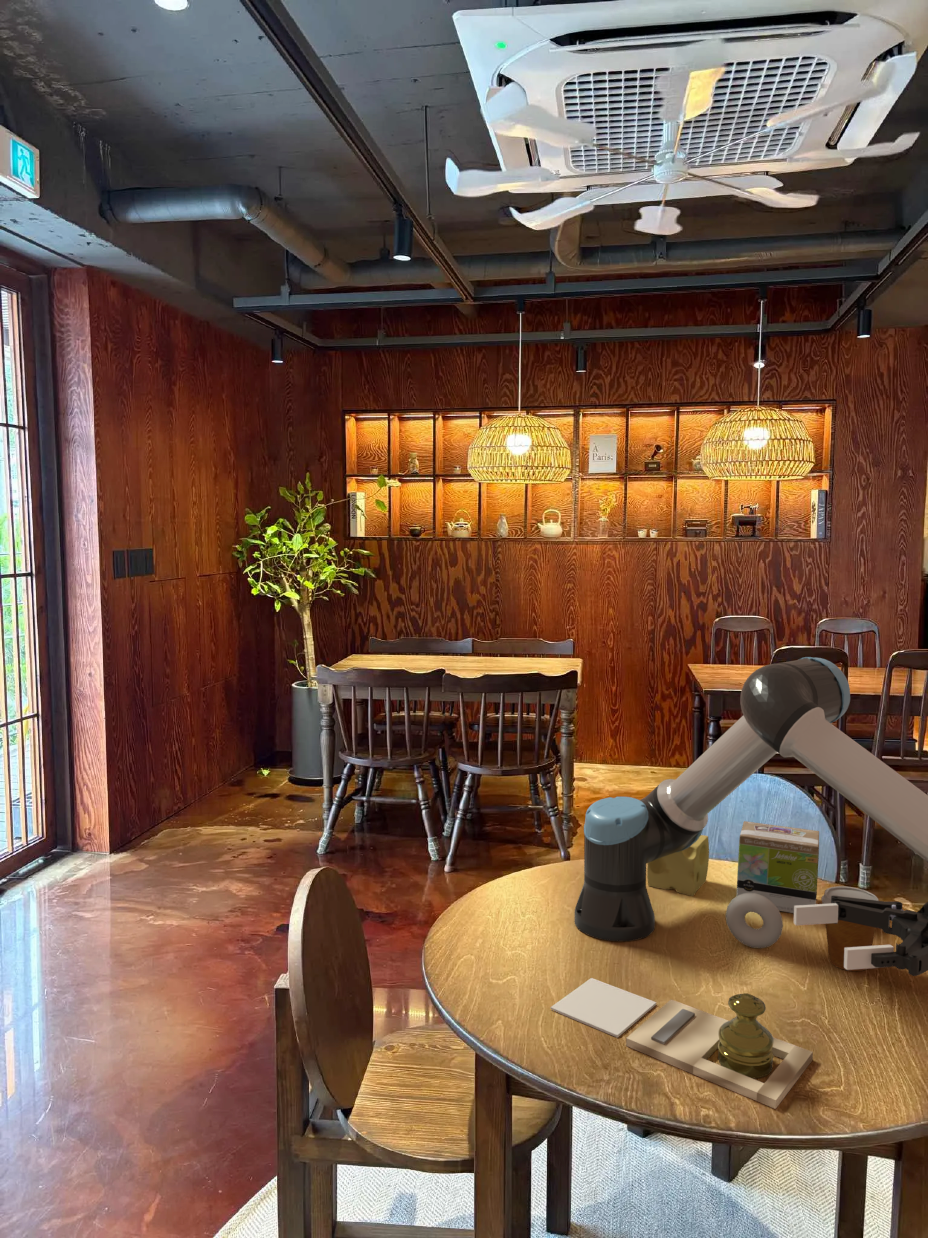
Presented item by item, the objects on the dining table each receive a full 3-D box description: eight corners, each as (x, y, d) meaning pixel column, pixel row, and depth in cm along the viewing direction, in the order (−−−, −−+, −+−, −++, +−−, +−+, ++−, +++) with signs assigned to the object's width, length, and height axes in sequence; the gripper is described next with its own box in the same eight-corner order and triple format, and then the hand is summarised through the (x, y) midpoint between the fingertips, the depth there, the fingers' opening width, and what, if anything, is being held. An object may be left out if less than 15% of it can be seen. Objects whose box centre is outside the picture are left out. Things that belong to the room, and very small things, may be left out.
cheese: (694, 897, 181) (695, 850, 180) (644, 886, 187) (644, 840, 186) (709, 880, 190) (710, 835, 189) (660, 870, 195) (661, 826, 194)
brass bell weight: (707, 1053, 127) (709, 986, 126) (753, 1045, 129) (755, 980, 128) (735, 1084, 120) (737, 1013, 119) (783, 1075, 121) (786, 1006, 120)
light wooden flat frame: (625, 1046, 128) (626, 1035, 128) (670, 1006, 139) (670, 997, 139) (775, 1109, 114) (775, 1097, 114) (812, 1060, 125) (812, 1049, 125)
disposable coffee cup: (885, 979, 148) (888, 910, 146) (824, 973, 150) (827, 905, 148) (870, 952, 157) (873, 887, 156) (814, 947, 159) (816, 883, 158)
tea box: (735, 906, 177) (737, 834, 175) (740, 887, 186) (742, 819, 184) (816, 918, 171) (819, 844, 169) (816, 898, 180) (819, 828, 179)
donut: (722, 944, 160) (724, 891, 159) (727, 937, 163) (729, 884, 162) (779, 958, 155) (781, 903, 154) (783, 950, 158) (785, 896, 157)
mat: (550, 1009, 138) (550, 1007, 138) (591, 980, 147) (591, 978, 147) (617, 1038, 130) (617, 1035, 130) (656, 1004, 140) (656, 1002, 140)
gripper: (1023, 997, 114) (869, 1008, 111) (904, 915, 138) (776, 923, 136) (1026, 940, 113) (871, 951, 110) (906, 869, 138) (777, 876, 135)
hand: (818, 936), depth 123 cm, fingers open, 13 cm apart
